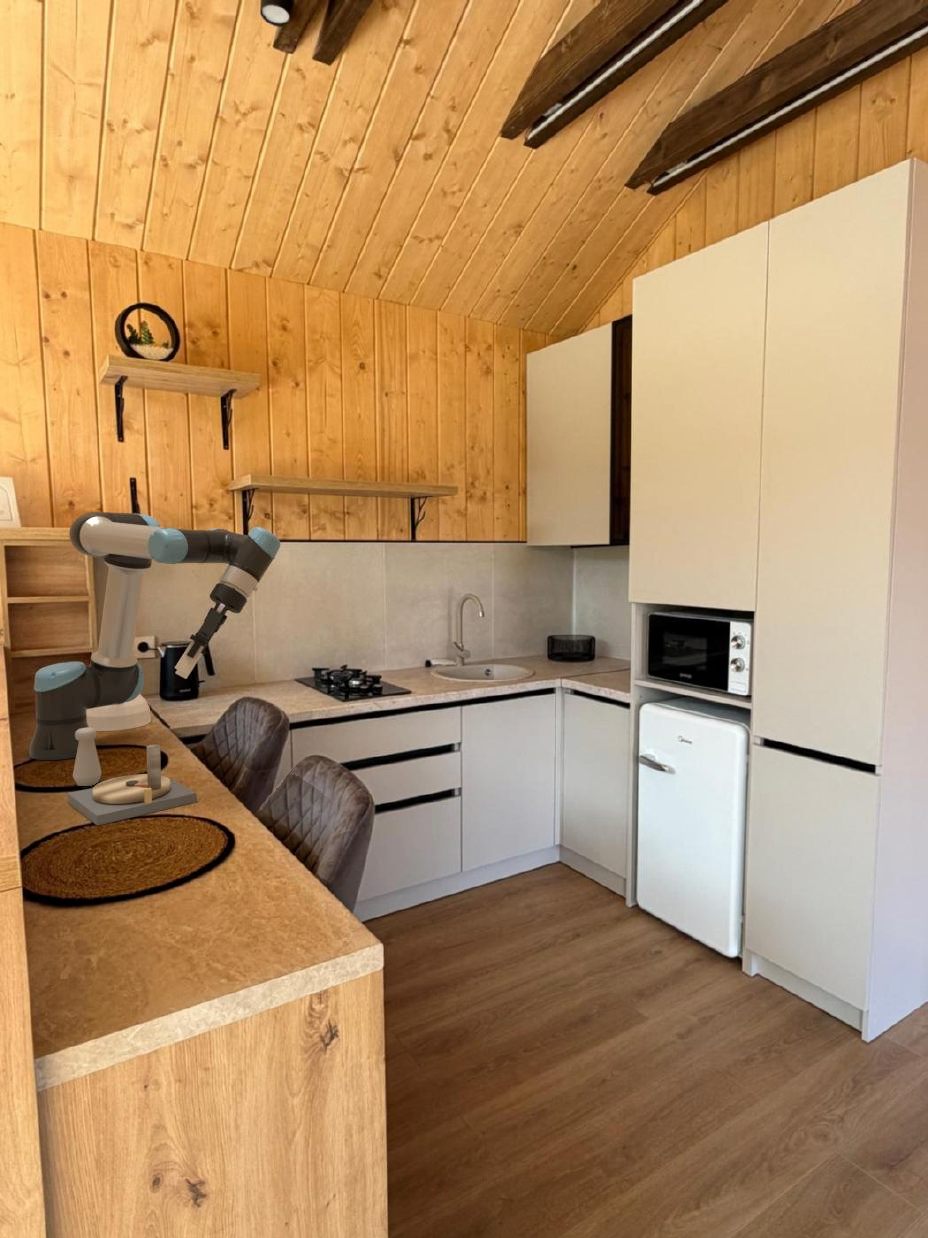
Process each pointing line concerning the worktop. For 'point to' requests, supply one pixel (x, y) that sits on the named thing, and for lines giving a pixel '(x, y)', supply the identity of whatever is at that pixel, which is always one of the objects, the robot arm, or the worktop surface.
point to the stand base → (130, 804)
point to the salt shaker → (86, 758)
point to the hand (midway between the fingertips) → (180, 673)
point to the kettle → (120, 715)
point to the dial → (134, 783)
